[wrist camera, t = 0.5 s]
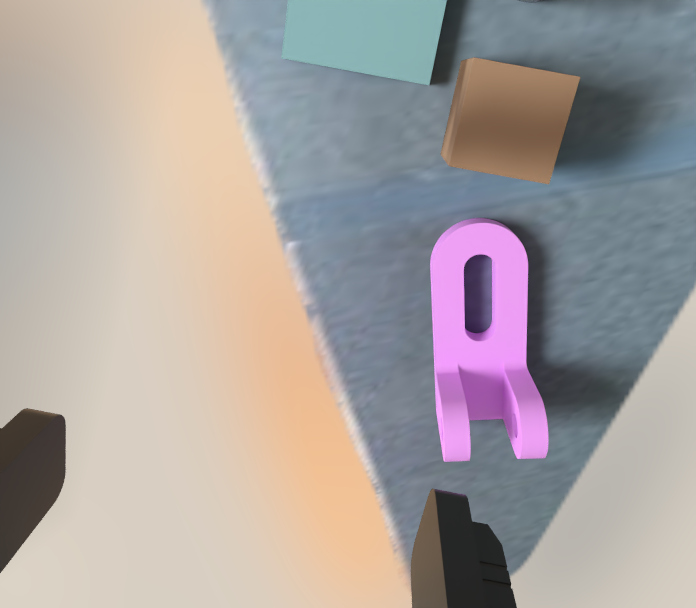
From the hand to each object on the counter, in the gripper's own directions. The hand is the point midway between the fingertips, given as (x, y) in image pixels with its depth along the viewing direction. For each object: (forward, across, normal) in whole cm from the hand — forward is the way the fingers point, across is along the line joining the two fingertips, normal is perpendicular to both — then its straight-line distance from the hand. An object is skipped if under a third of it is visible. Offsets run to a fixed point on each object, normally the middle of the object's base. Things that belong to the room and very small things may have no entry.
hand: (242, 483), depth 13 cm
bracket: (+24, -10, +5) cm, 27 cm away
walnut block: (+24, -8, -7) cm, 27 cm away
